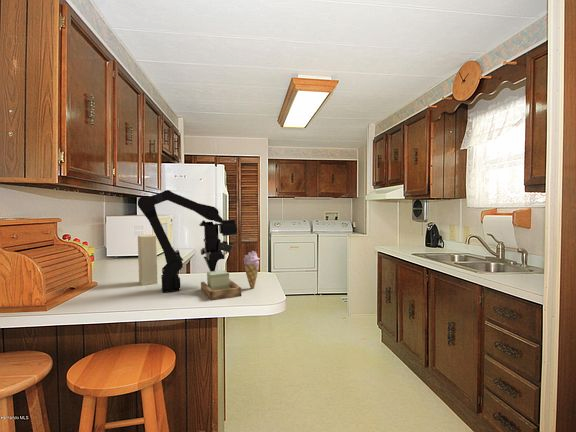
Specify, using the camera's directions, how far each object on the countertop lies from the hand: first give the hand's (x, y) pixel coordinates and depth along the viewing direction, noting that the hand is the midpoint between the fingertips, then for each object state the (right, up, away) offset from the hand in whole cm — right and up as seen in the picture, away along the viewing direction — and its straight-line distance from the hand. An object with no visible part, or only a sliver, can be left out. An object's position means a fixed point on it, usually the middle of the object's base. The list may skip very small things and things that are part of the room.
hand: (212, 273), depth 146 cm
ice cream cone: (+17, -5, -6) cm, 19 cm away
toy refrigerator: (-30, -6, +9) cm, 32 cm away
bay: (+5, -5, -11) cm, 13 cm away
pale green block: (+4, -4, -8) cm, 10 cm away
